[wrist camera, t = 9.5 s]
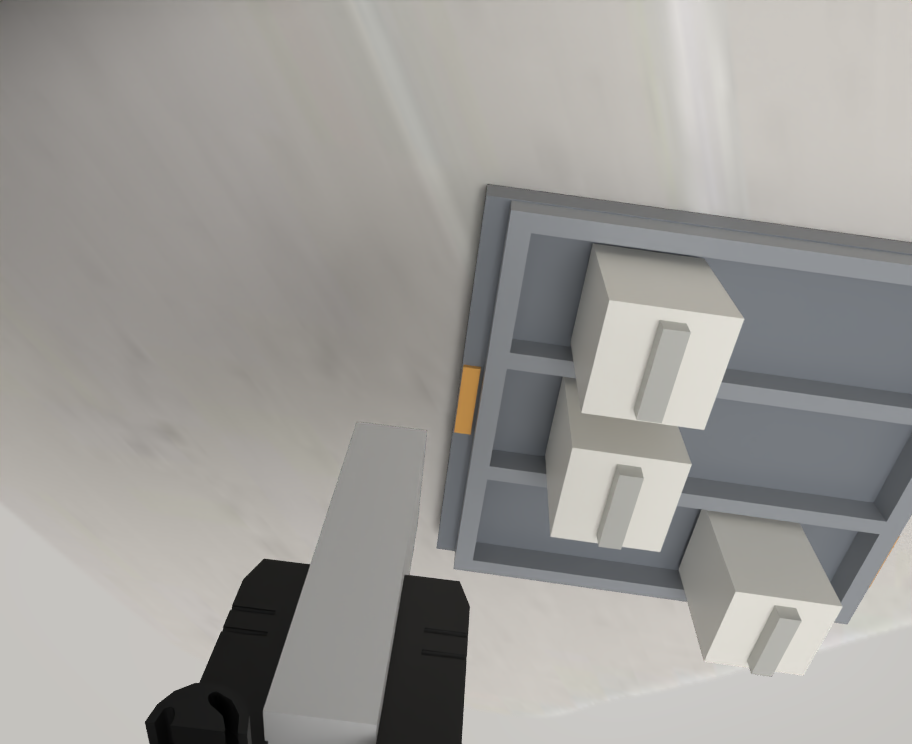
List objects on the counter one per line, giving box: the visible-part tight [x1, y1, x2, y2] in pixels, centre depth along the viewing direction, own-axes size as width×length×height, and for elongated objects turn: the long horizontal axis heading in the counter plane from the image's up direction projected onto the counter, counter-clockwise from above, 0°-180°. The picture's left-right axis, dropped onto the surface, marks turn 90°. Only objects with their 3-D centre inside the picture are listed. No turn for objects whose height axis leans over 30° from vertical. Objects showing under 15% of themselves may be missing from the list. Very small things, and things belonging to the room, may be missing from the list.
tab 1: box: [571, 243, 744, 430], centre depth 23 cm, size 4×4×6 cm
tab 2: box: [545, 377, 692, 552], centre depth 26 cm, size 4×4×6 cm
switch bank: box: [437, 184, 912, 624], centre depth 29 cm, size 20×17×3 cm
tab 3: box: [679, 510, 843, 677], centre depth 29 cm, size 4×4×6 cm
